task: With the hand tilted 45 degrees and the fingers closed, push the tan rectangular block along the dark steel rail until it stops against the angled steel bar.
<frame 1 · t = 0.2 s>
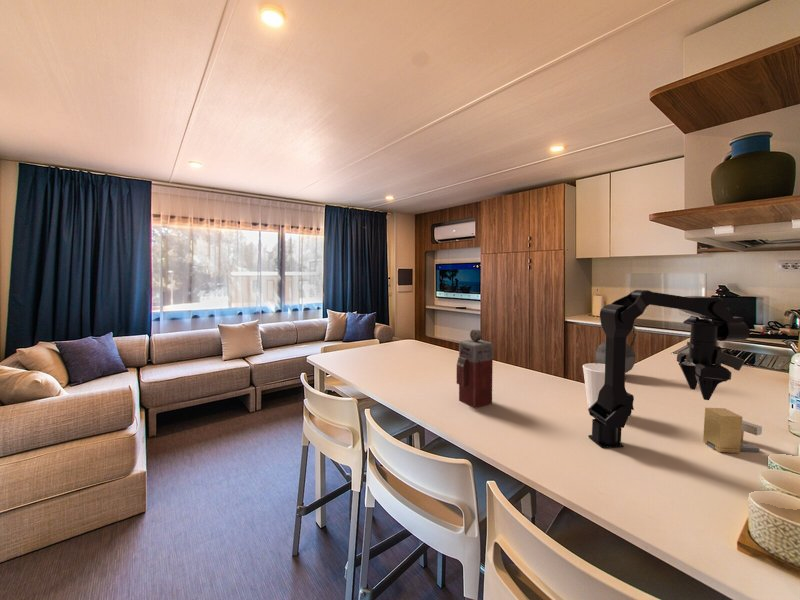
hand: (699, 394, 95), 14 cm above the counter, fingers open, 9 cm apart
dark red tall piece: (472, 403, 126), on the counter
rig: (732, 448, 91), on the counter
pitcher: (617, 376, 157), on the counter
cup: (600, 412, 116), on the counter
tan rectangular block: (722, 429, 91), point 5 cm above the counter, slide at 0.0 cm
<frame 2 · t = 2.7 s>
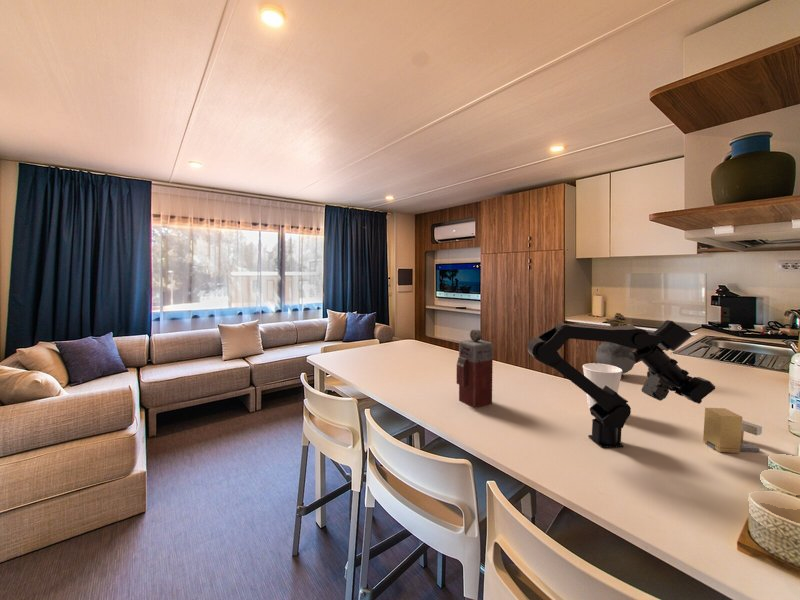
hand: (699, 402, 92), 13 cm above the counter, fingers closed
nothing on the counter moved.
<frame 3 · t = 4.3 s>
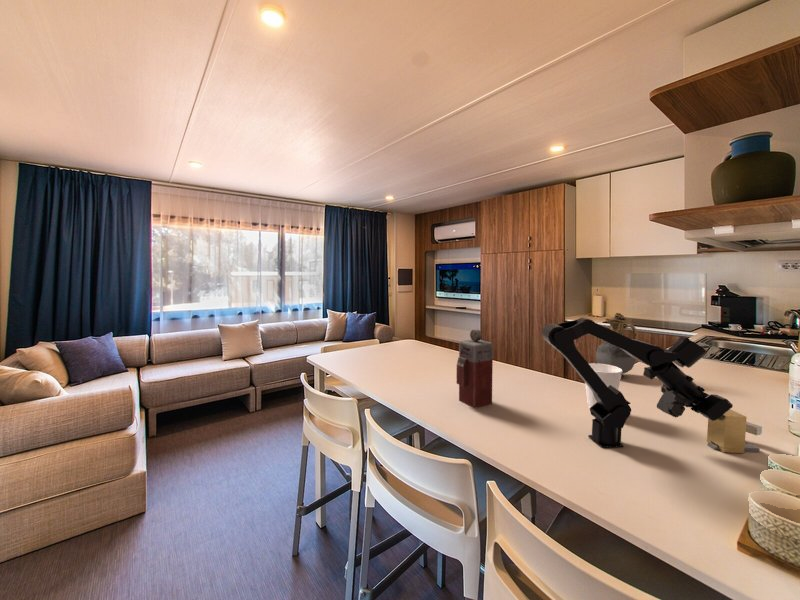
hand: (715, 418, 91), 8 cm above the counter, fingers closed, pressing on tan rectangular block
tan rectangular block: (725, 429, 91), point 5 cm above the counter, slide at 1.0 cm, touching gripper
everything else where it was.
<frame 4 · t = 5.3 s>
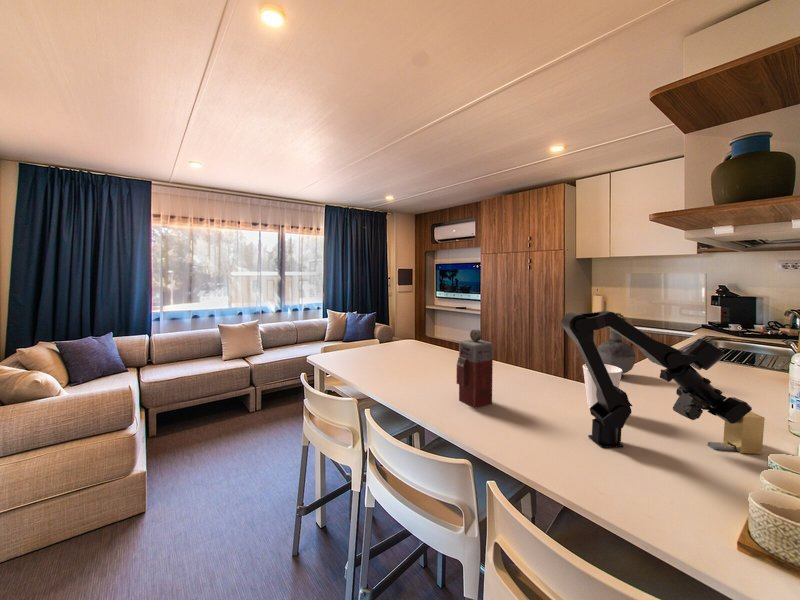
hand: (732, 421, 91), 8 cm above the counter, fingers closed, pressing on tan rectangular block
tan rectangular block: (743, 430, 91), point 5 cm above the counter, slide at 5.2 cm, touching gripper, rig
everything else where it was.
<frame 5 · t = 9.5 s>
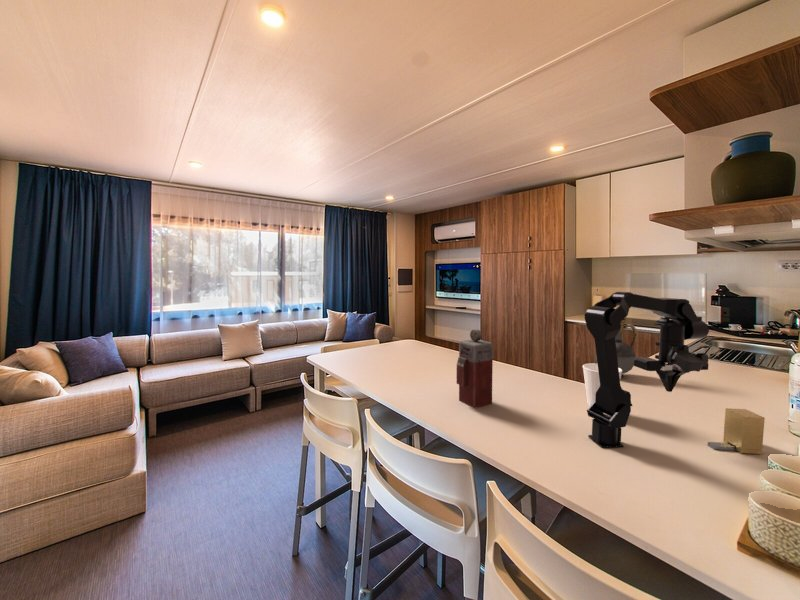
hand: (668, 391, 100), 13 cm above the counter, fingers closed
tan rectangular block: (743, 430, 91), point 5 cm above the counter, slide at 5.2 cm
everything else where it was.
at the end: tan rectangular block slide at 5.2 cm; the gripper is holding nothing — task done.
